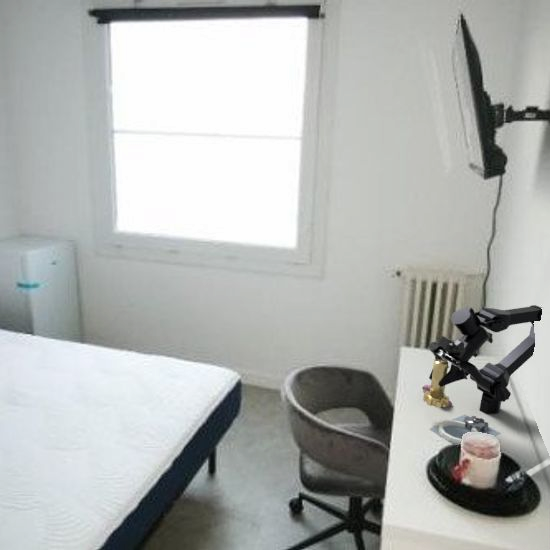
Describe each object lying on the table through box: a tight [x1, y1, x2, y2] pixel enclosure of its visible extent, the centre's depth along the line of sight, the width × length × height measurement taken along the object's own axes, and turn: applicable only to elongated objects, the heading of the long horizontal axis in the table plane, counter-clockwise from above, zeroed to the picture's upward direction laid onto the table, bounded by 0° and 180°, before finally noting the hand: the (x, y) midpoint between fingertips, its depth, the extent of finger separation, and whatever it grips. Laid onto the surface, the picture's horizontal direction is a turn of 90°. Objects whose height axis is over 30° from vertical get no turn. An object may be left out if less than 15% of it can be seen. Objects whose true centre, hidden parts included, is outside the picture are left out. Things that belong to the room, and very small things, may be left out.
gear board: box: [429, 414, 501, 446], centre depth 148 cm, size 17×12×2 cm
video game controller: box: [422, 383, 453, 408], centre depth 165 cm, size 10×5×7 cm, turn 21°
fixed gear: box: [463, 415, 489, 432], centre depth 150 cm, size 7×7×2 cm
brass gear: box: [422, 359, 450, 409], centre depth 150 cm, size 7×7×13 cm
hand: (434, 382), depth 150 cm, fingers closed on brass gear, 4 cm apart
